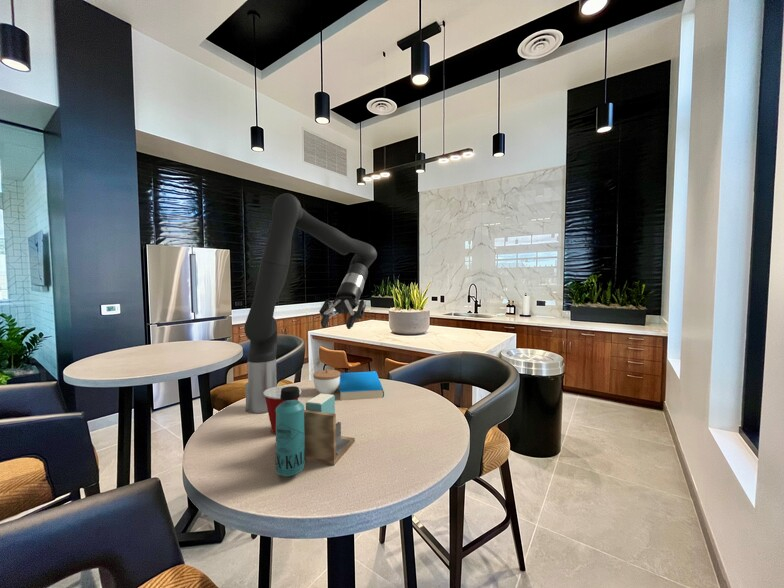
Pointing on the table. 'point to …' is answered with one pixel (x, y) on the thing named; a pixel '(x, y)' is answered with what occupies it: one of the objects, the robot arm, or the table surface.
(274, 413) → the plastic cup
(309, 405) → the teal book
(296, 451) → the beverage bottle
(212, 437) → the table surface
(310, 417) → the shelf
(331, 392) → the lidded jar
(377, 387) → the book
